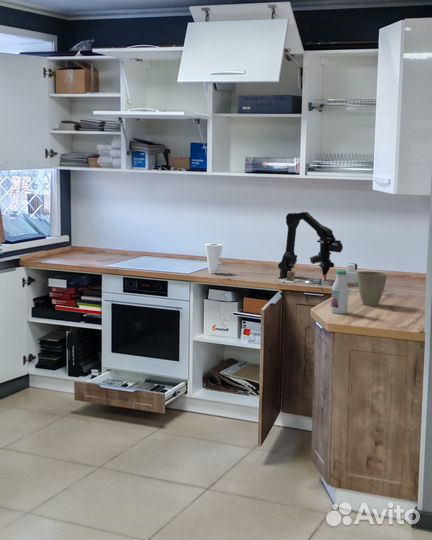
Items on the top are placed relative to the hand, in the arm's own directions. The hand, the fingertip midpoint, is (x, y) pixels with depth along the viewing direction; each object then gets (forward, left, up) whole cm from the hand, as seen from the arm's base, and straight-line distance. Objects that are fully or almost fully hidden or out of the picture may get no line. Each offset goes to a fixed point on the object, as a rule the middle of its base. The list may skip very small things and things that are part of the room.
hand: (324, 277), depth 449 cm
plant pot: (+51, -35, -4) cm, 62 cm away
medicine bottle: (+8, +16, -4) cm, 19 cm away
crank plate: (-3, -5, -4) cm, 7 cm away
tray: (-16, -11, -4) cm, 20 cm away
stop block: (-16, -11, -4) cm, 20 cm away
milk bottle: (+52, -65, -4) cm, 83 cm away
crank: (-3, -5, -3) cm, 6 cm away
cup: (-68, -21, -4) cm, 71 cm away
